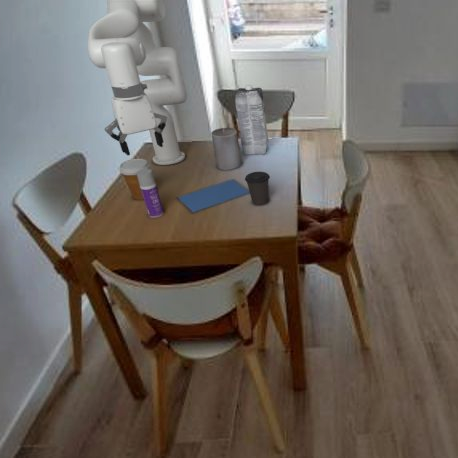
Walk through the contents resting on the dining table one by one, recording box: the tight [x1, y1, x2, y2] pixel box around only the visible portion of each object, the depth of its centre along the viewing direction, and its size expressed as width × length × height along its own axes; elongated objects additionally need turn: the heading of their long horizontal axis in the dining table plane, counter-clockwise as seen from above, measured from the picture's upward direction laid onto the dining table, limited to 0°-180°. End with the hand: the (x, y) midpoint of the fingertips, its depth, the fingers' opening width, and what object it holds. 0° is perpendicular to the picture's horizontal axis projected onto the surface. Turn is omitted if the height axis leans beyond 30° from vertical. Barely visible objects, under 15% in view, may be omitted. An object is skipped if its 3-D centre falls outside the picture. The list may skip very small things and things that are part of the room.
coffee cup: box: [244, 171, 271, 206], centre depth 142 cm, size 8×8×10 cm
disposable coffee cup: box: [118, 158, 151, 201], centre depth 147 cm, size 10×10×12 cm
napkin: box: [177, 179, 250, 213], centre depth 149 cm, size 13×21×1 cm, turn 129°
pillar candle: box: [211, 127, 243, 171], centre depth 166 cm, size 10×10×15 cm
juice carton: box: [234, 84, 269, 156], centre depth 174 cm, size 9×10×27 cm
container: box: [137, 168, 165, 219], centre depth 135 cm, size 5×5×15 cm
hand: (144, 149), depth 127 cm, fingers open, 9 cm apart
